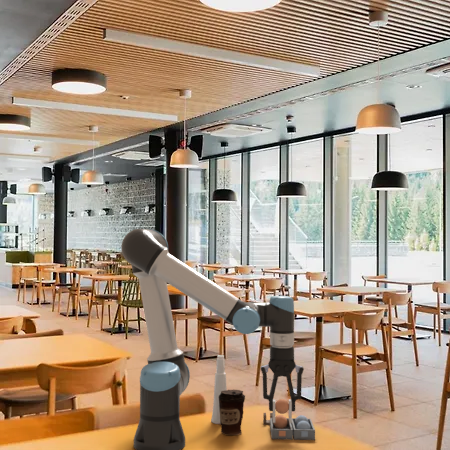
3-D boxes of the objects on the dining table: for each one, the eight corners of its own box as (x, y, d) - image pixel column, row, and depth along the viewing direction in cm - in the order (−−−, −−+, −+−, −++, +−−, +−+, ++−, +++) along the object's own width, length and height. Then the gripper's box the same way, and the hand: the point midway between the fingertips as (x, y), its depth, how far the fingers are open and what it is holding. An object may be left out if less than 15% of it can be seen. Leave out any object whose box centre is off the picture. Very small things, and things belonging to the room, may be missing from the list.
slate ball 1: (295, 431, 194) (295, 417, 194) (294, 427, 198) (294, 413, 198) (309, 431, 193) (309, 417, 193) (307, 427, 198) (307, 413, 198)
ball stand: (263, 424, 202) (263, 415, 202) (263, 421, 205) (263, 412, 205) (273, 424, 202) (273, 415, 202) (272, 421, 205) (272, 412, 205)
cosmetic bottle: (232, 421, 205) (233, 355, 206) (220, 425, 201) (221, 357, 201) (219, 417, 209) (219, 353, 210) (207, 421, 205) (207, 355, 205)
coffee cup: (242, 438, 188) (242, 395, 188) (215, 436, 189) (215, 394, 190) (246, 429, 196) (247, 388, 197) (221, 427, 198) (221, 387, 198)
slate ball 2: (297, 437, 188) (297, 423, 188) (295, 433, 192) (295, 418, 192) (311, 437, 187) (311, 423, 188) (309, 433, 192) (309, 419, 192)
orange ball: (275, 415, 188) (275, 401, 188) (274, 411, 192) (274, 397, 192) (289, 415, 188) (289, 401, 188) (288, 411, 192) (288, 397, 192)
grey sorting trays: (271, 439, 187) (271, 429, 187) (269, 427, 199) (270, 418, 199) (315, 440, 186) (315, 430, 186) (310, 427, 199) (310, 418, 199)
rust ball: (273, 431, 194) (273, 417, 194) (273, 426, 198) (273, 413, 198) (287, 431, 194) (287, 417, 194) (286, 427, 198) (286, 413, 198)
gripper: (254, 347, 187) (254, 424, 186) (311, 348, 187) (311, 425, 186) (253, 343, 195) (253, 417, 194) (308, 344, 194) (308, 418, 193)
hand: (282, 421), depth 190 cm, fingers closed on orange ball, 4 cm apart
